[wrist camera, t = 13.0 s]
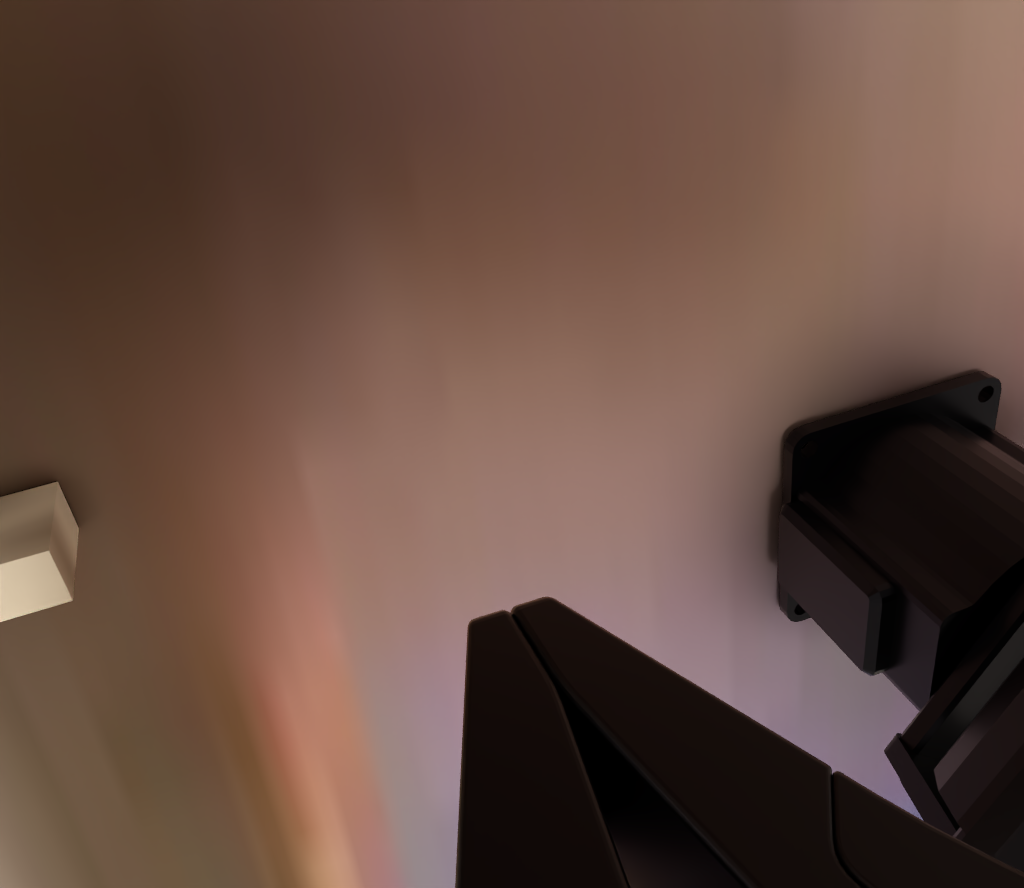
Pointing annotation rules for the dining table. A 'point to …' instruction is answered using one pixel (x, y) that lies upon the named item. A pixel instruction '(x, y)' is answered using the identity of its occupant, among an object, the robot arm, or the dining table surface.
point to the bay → (36, 551)
